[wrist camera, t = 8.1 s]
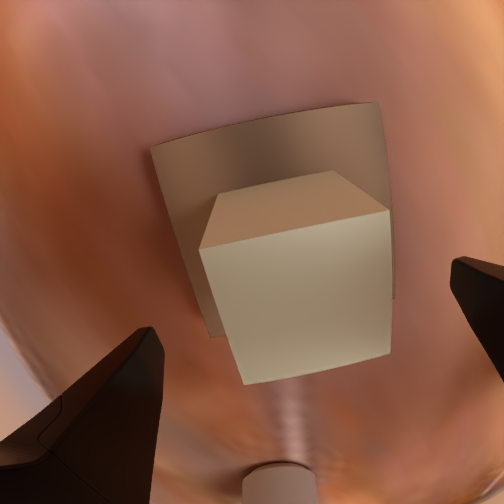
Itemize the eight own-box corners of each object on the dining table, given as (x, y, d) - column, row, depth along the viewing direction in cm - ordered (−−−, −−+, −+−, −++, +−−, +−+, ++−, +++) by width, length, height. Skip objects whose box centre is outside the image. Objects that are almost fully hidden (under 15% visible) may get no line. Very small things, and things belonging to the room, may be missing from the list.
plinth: (357, 103, 15) (378, 101, 12) (376, 273, 19) (394, 299, 16) (166, 141, 16) (149, 147, 13) (215, 306, 19) (210, 337, 17)
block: (332, 170, 13) (389, 210, 8) (345, 272, 15) (390, 353, 10) (218, 194, 14) (198, 250, 8) (244, 293, 16) (244, 385, 10)
